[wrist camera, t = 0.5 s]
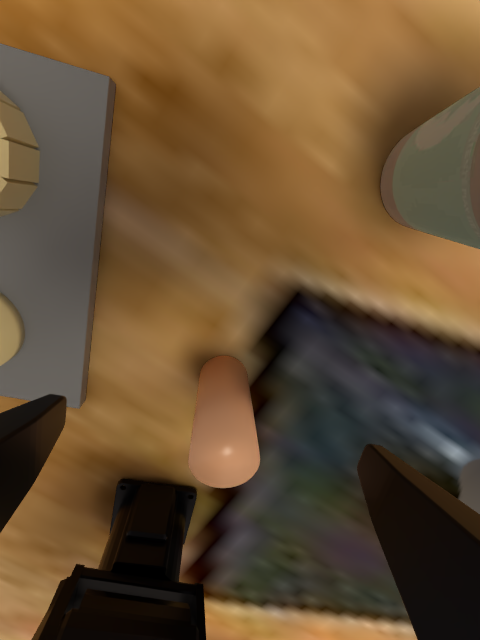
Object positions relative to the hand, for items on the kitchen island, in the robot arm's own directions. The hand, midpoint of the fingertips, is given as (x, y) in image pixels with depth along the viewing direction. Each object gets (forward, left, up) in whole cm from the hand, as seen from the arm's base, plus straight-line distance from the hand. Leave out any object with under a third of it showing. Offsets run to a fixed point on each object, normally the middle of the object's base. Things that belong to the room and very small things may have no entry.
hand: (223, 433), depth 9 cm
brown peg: (-5, -1, -12) cm, 14 cm away
